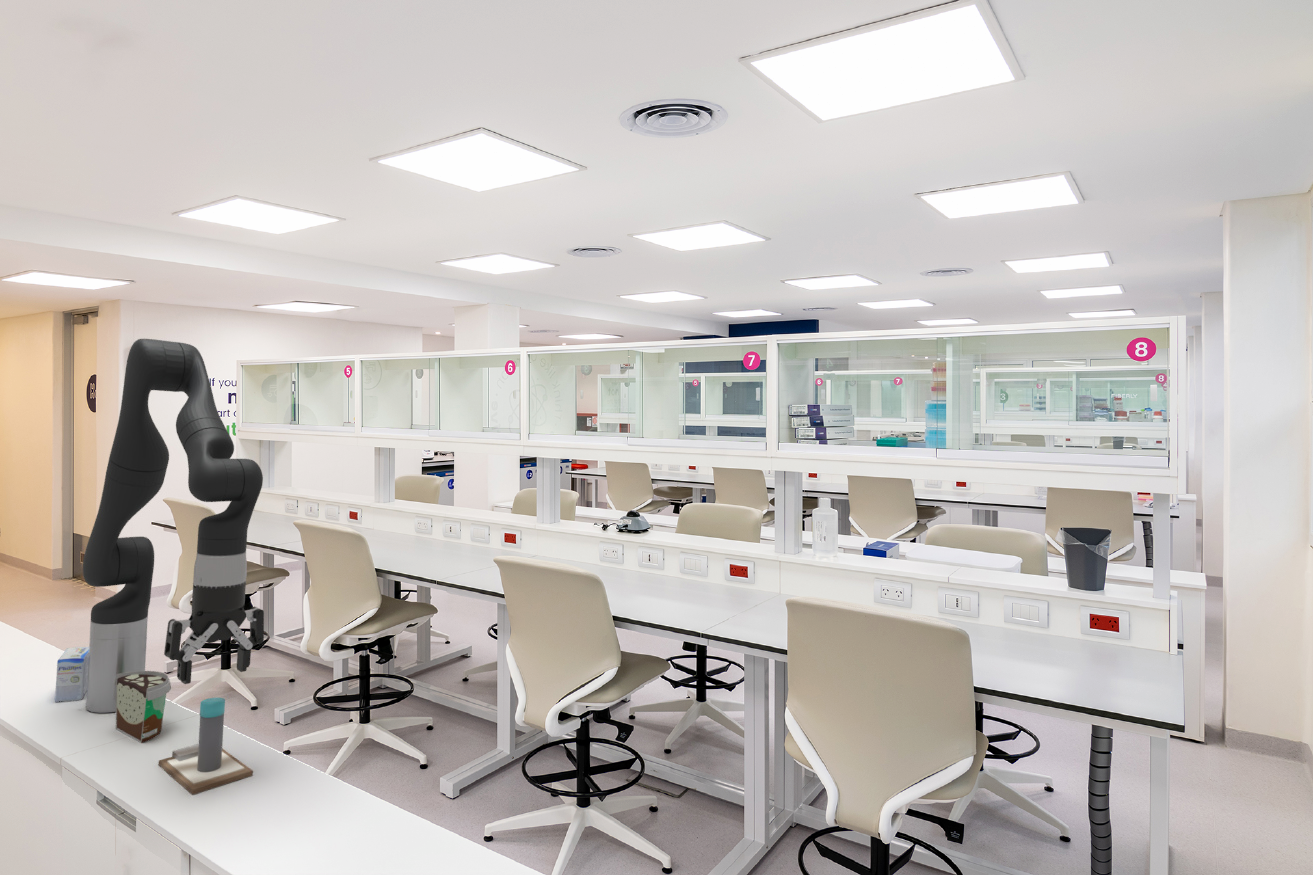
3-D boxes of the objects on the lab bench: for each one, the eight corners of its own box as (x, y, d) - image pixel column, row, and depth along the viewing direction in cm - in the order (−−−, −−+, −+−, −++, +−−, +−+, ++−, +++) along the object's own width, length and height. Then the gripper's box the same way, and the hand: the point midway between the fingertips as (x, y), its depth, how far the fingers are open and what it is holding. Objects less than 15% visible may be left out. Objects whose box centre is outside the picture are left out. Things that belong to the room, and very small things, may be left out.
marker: (193, 767, 122) (196, 701, 122) (216, 760, 125) (219, 695, 125) (202, 774, 120) (205, 707, 120) (225, 767, 123) (228, 701, 122)
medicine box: (63, 689, 153) (66, 647, 152) (90, 686, 155) (92, 645, 155) (54, 703, 146) (56, 659, 146) (82, 700, 148) (84, 657, 148)
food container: (182, 733, 136) (185, 680, 136) (145, 745, 131) (148, 689, 130) (148, 716, 142) (151, 665, 142) (111, 726, 137) (114, 673, 137)
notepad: (158, 765, 124) (158, 754, 124) (216, 748, 131) (216, 738, 131) (192, 794, 115) (193, 783, 115) (252, 775, 123) (253, 764, 122)
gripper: (254, 569, 130) (248, 661, 130) (162, 580, 118) (156, 680, 119) (274, 578, 125) (268, 672, 125) (180, 589, 114) (174, 693, 114)
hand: (214, 676), depth 122 cm, fingers open, 8 cm apart
